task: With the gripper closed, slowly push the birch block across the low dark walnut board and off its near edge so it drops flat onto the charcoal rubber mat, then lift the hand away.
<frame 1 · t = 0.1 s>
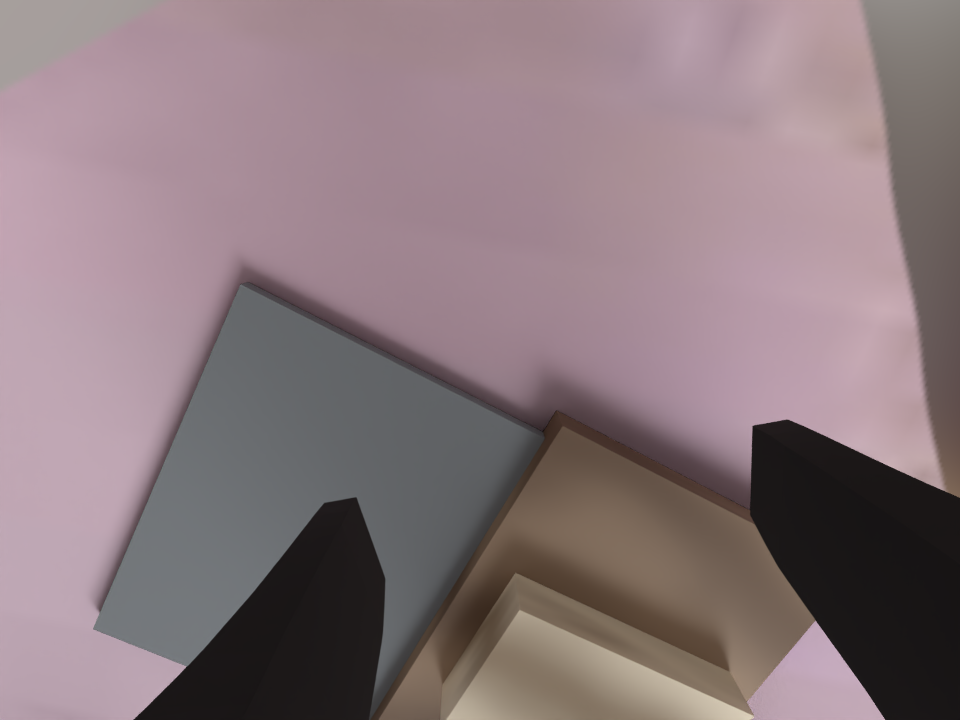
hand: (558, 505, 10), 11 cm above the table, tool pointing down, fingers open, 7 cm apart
charcoal mat: (312, 529, 22), on the table
walnut board: (579, 649, 24), on the table
birch block: (586, 678, 22), point 1 cm above the table, touching walnut board
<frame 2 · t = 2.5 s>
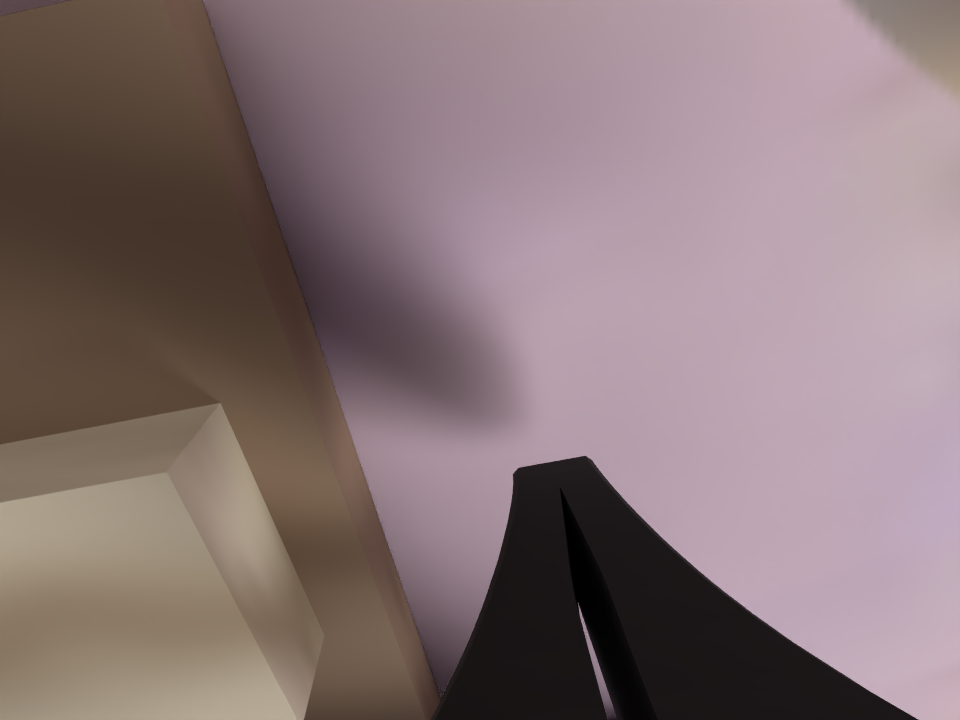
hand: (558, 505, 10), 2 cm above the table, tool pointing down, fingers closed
walnut board: (83, 523, 13), on the table
birch block: (38, 575, 11), point 1 cm above the table, touching walnut board
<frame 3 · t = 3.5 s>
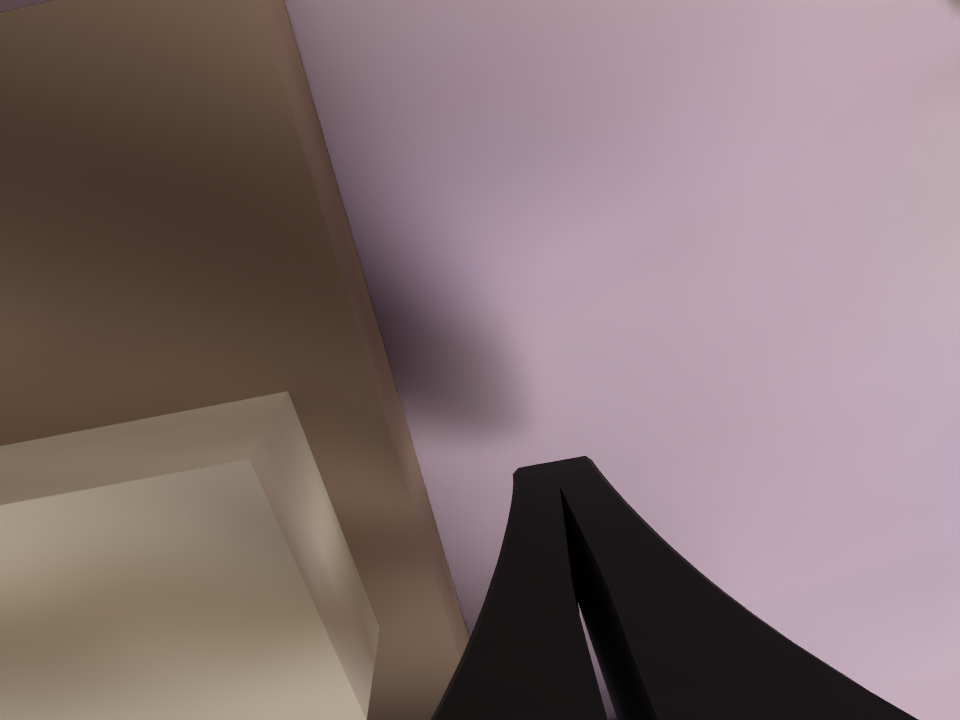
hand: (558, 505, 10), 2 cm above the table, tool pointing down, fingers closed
walnut board: (134, 516, 12), on the table
birch block: (95, 567, 11), point 1 cm above the table, touching walnut board
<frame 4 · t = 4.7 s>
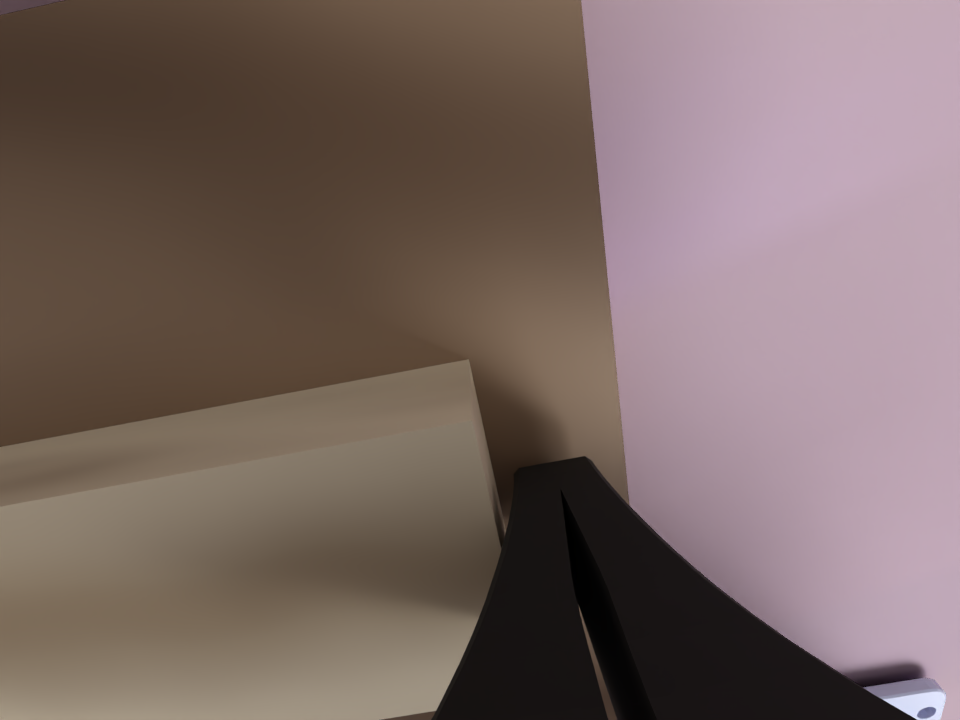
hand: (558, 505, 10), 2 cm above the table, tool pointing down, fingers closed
walnut board: (315, 483, 12), on the table
birch block: (249, 540, 11), point 2 cm above the table, touching gripper
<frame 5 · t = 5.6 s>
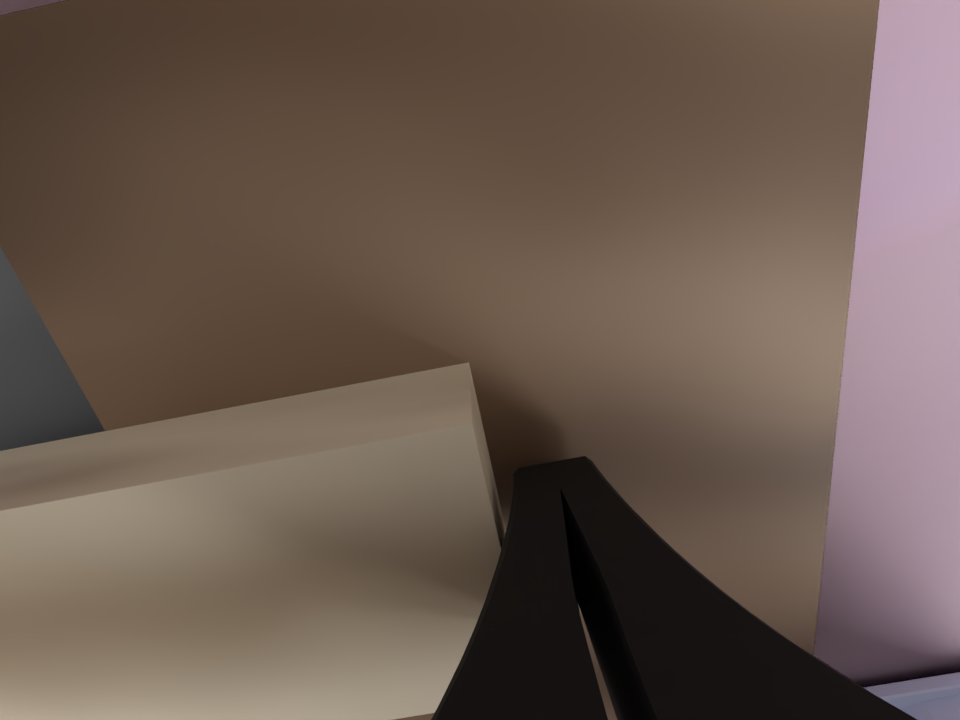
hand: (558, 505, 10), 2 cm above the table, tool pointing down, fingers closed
walnut board: (492, 451, 12), on the table
birch block: (250, 543, 11), point 1 cm above the table, touching gripper, walnut board
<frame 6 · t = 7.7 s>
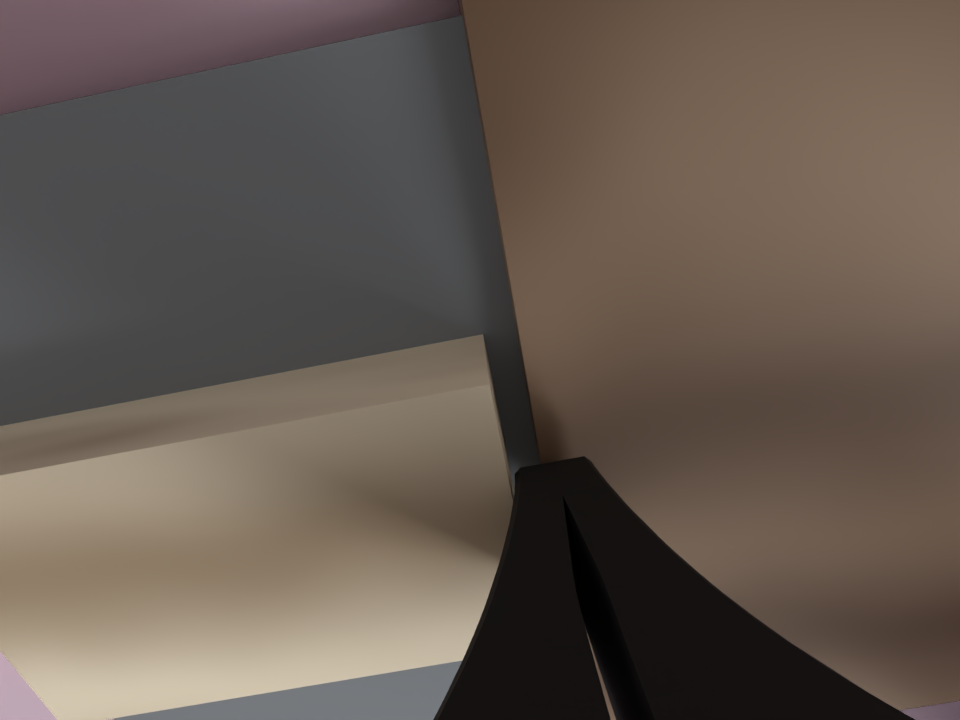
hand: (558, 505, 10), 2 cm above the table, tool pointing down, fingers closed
charcoal mat: (268, 491, 12), on the table
walnut board: (837, 388, 12), on the table
birch block: (276, 506, 12), point 1 cm above the table, touching charcoal mat, gripper
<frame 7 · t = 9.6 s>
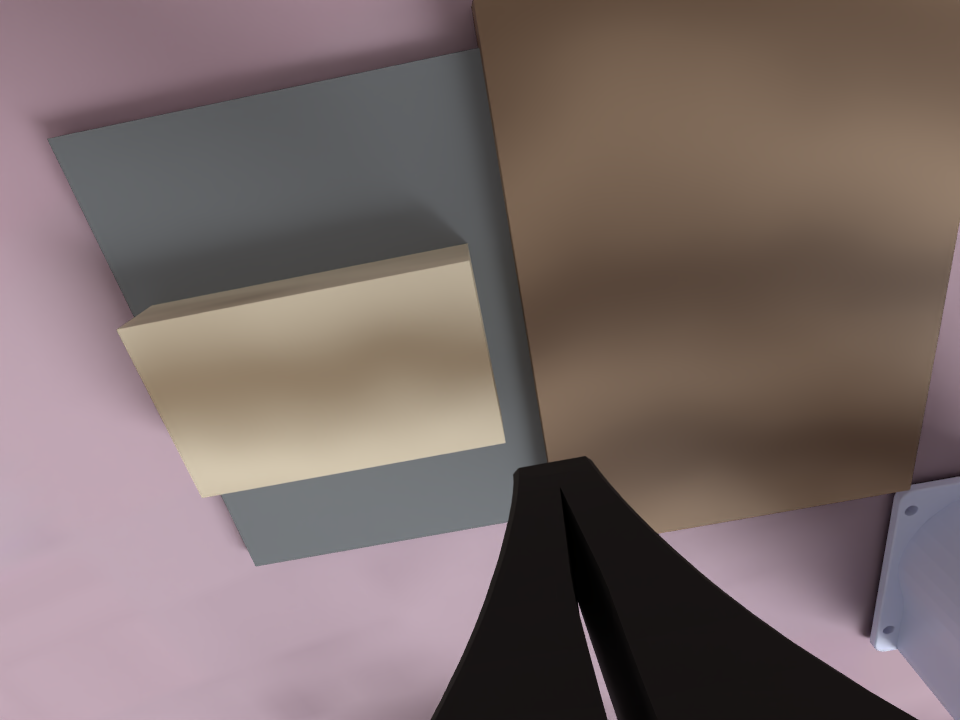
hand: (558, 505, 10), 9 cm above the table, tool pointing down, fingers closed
charcoal mat: (348, 351, 19), on the table
walnut board: (716, 281, 18), on the table
birch block: (336, 361, 18), point 1 cm above the table, touching charcoal mat
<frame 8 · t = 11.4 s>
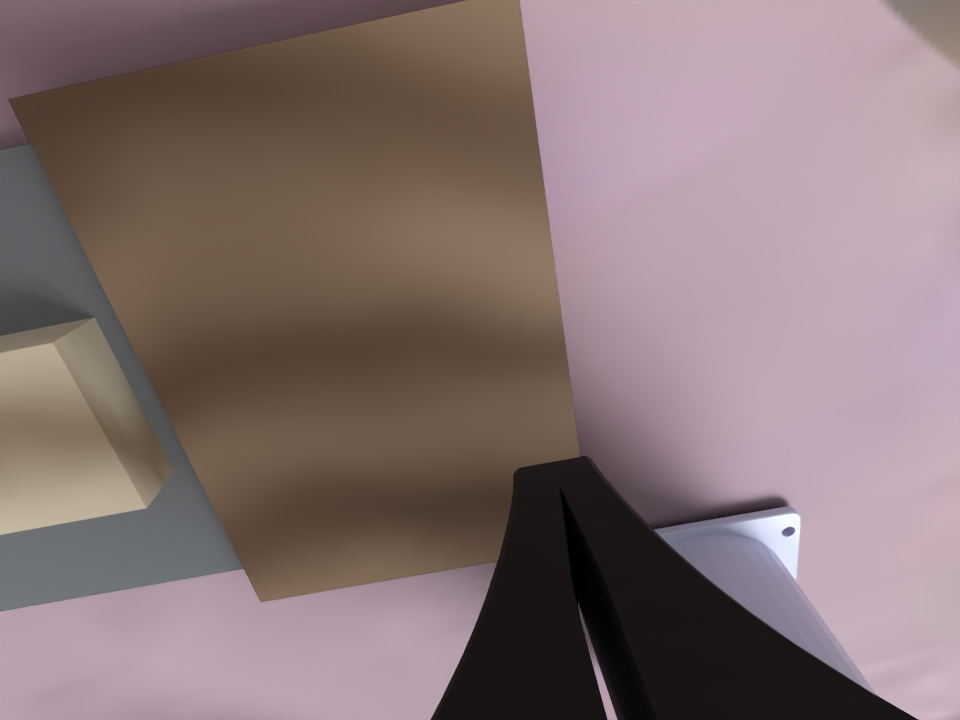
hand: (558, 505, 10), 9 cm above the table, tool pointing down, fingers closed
charcoal mat: (17, 414, 19), on the table
walnut board: (366, 348, 19), on the table
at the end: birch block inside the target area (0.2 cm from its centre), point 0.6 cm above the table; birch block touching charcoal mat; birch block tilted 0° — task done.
